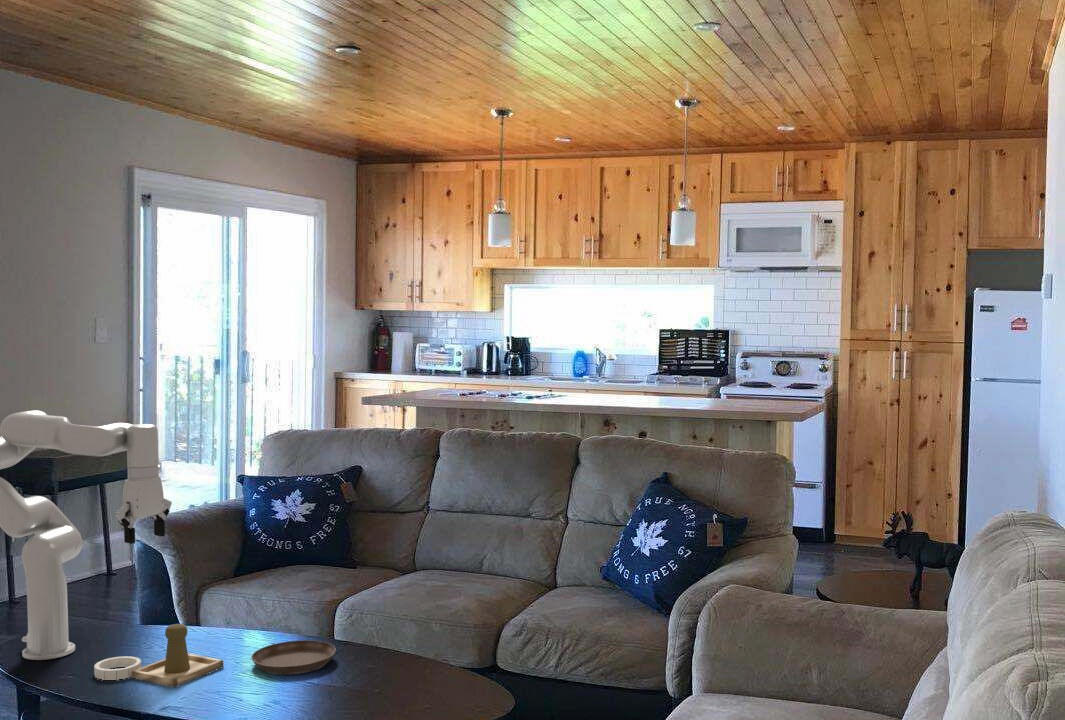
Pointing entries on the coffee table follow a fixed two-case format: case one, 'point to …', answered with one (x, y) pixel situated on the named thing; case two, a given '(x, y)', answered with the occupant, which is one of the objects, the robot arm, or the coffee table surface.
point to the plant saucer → (293, 657)
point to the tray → (158, 675)
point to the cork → (176, 649)
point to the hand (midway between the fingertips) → (144, 539)
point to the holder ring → (106, 673)
